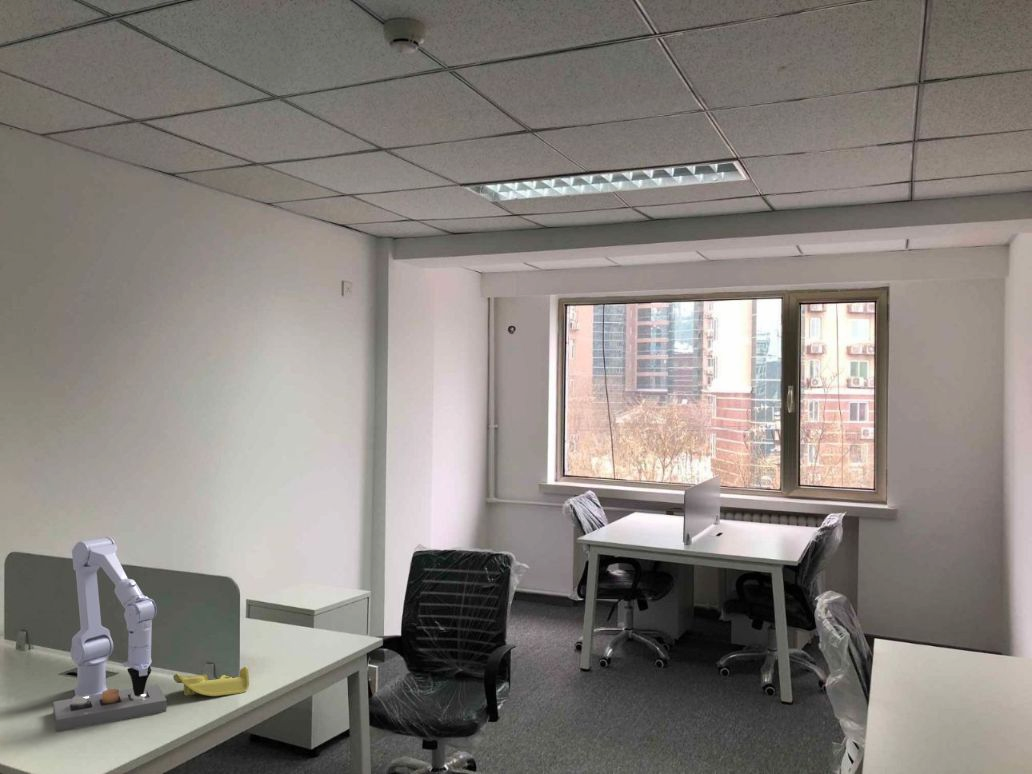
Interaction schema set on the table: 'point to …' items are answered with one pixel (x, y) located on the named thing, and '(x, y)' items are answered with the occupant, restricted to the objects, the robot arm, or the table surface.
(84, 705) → the plunger
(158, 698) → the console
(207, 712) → the table surface
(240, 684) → the plastic component
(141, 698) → the plunger
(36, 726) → the table surface
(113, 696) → the orange plunger
